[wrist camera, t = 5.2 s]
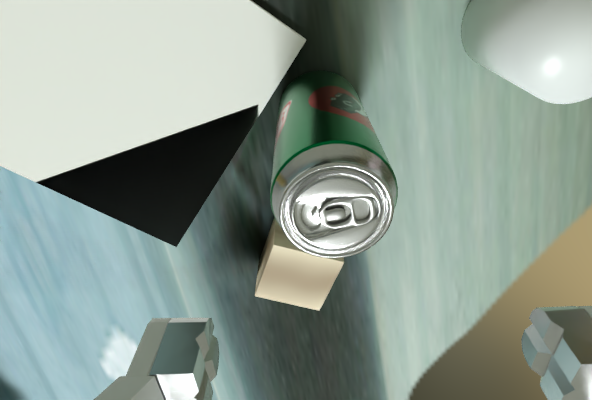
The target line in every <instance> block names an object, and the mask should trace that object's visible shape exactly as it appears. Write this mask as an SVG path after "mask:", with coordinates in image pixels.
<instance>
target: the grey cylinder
mask: <svg viewBox="0 0 592 400" xmlns="http://www.w3.org/2000/svg"><path fill="white" fill-rule="evenodd" d="M461 38H462V43H463V47H464V49H465V51H466V53H467V54H468V56H469V57H470V58H471V59H472V60H474V61H475V62H476V63H478V64H480V65H481V66H483V67H485V68H487V69H488V70H490V71H492V72H494V73H495V74H497V75H499V76H501V77H503V78H504V79H506V80H508V81H510V82H511V83H513V84H515V85H517V86H518V87H520V88H522V89H524V90H525V91H527V92H529V93H531V94H532V95H534V96H536V97H538V98H539V99H542V100H544V101H546V102H550V103H555V104H568V103H575V102H579V101H582V100H585V99H588V98H591V97H592V0H471V2H470V3H469V5H468V7H467V9H466V11H465V14H464V17H463V21H462V26H461Z"/></svg>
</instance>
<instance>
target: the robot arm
mask: <svg viewBox="0 0 592 400" xmlns="http://www.w3.org/2000/svg"><path fill="white" fill-rule="evenodd" d="M529 319H530V320H531V322H532V323H533V325H531V326H529V327H528V328H527V329H525V330H524V333H523V336H522V350H523V353H524V356H525V359H526V361H527V363H528V365H529V367H530V368H531V369H532V370H533V371H535V372H536V373H538V374H539V375H540V376H542V377H541V382H540V386H541V388H542V390H543V391H544V393H545V395H546V397H547V399H548V400H592V306H579V307H576V306H567V307H544V308H536V309H534V310H533V311H532V313H531V315H530V318H529ZM213 329H214V325H213V322H212V318H152V320H151V321H150V322H149V323H148V324H147V327H146V329H145V332H144V334H143V336H142V339H141V341H140V343H139V346H138V348H137V351H136V353H135V355H134V358H133V360H132V362H131V365H130V367H129V370H128V372H127V374H126V376H121V377H119V378H118V379H116V380H115V381H114V382H113V383H112V384H111V385H110V386H109V387H107V388H106V389H105V390H104V391H103V392H102V393H101V394H100V395H98V396H97V397H96V398H95V399H94V400H212V395H213V390H212V387H211V383H210V382H211V381H212V380H213V379H214V378H215V376H216V375H217V370H218V363H219V346H218V341H217V338H216V337H215V336H213V335H212V334H213Z"/></svg>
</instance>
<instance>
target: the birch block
mask: <svg viewBox="0 0 592 400" xmlns="http://www.w3.org/2000/svg"><path fill="white" fill-rule="evenodd" d="M343 263H344V259H343V258H323V257H318V256H314V255H311V254H309V253H306V252H304V251H302V250H301V249H299V248H298V247H296V246H295V245H294V244H293V243H292V242H291V241H290V240H289V239H288V238H287V236H286V235H285V233H284V232H283V230H282V228H281V227H280V225H279V224H278V222H277V221H276V219H275V217H274V220H273V223H272V226H271V228H270V231H269V234H268V237H267V240H266V242H265V245H264V248H263V251H262V254H261V257H260V259H259V265H258V273H257V281H256V290H255V296H256V297H261V298H265V299H270V300H274V301H279V302H283V303H288V304H292V305H296V306H301V307H305V308H310V309H314V310H320V308H321V306H322V304H323V303H324V301H325V299H326V297H327V295H328V293H329V291H330V289H331V287H332V285H333V283H334V281H335V279H336V277H337V275H338V273H339V271H340V269H341V267H342V265H343Z"/></svg>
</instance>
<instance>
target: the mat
mask: <svg viewBox="0 0 592 400" xmlns="http://www.w3.org/2000/svg"><path fill="white" fill-rule="evenodd" d="M305 42H306V39H305V38H304V37H302V36H301V35H300V34H298V33H297V32H295V31H294V30H293V29H291V28H290V27H288V26H287V25H285V24H284V23H283V22H281V21H280V20H278V19H277V18H276V17H274V16H273V15H271V14H270V13H269V12H267V11H266V10H264V9H263V8H262V7H260V6H259V5H257V4H256V3H254V2H253V1H252V0H0V166H2V167H4V168H6V169H8V170H10V171H13V172H15V173H17V174H19V175H21V176H23V177H26V178H28V179H30V180H32V181H34V182H36V183H39V184H41V185H43V186H45V187H47V188H49V189H52V190H54V191H56V192H58V193H60V194H62V195H65V196H67V197H69V198H71V199H73V200H75V201H78V202H80V203H82V204H84V205H86V206H88V207H91V208H93V209H95V210H97V211H99V212H101V213H104V214H106V215H108V216H110V217H112V218H114V219H117V220H119V221H121V222H123V223H125V224H128V225H130V226H132V227H134V228H136V229H138V230H141V231H143V232H145V233H147V234H149V235H151V236H154V237H156V238H158V239H160V240H162V241H164V242H167V243H169V244H171V245H173V246H175V247H177V245H178V244H179V242H180V240H181V239H182V237H183V236H184V234H185V232H186V231H187V229H188V228H189V226H190V224H191V223H192V221H193V220H194V218H195V217H196V215H197V213H198V212H199V210H200V209H201V207H202V205H203V204H204V202H205V201H206V199H207V197H208V196H209V194H210V193H211V191H212V190H213V188H214V186H215V185H216V183H217V182H218V180H219V178H220V177H221V175H222V174H223V172H224V170H225V169H226V167H227V166H228V164H229V163H230V161H231V159H232V158H233V156H234V155H235V153H236V151H237V150H238V148H239V147H240V145H241V143H242V142H243V140H244V139H245V137H246V135H247V134H248V132H249V131H250V129H251V128H252V126H253V124H254V123H255V121H256V120H257V118H258V116H259V115H260V113H261V112H262V110H263V108H264V107H265V105H266V104H267V102H268V101H269V99H270V97H271V96H272V94H273V93H274V91H275V89H276V88H277V86H278V85H279V83H280V81H281V80H282V78H283V77H284V75H285V74H286V72H287V70H288V69H289V67H290V66H291V64H292V62H293V61H294V59H295V58H296V56H297V54H298V53H299V51H300V50H301V48H302V47H303V45H304V43H305Z"/></svg>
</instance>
